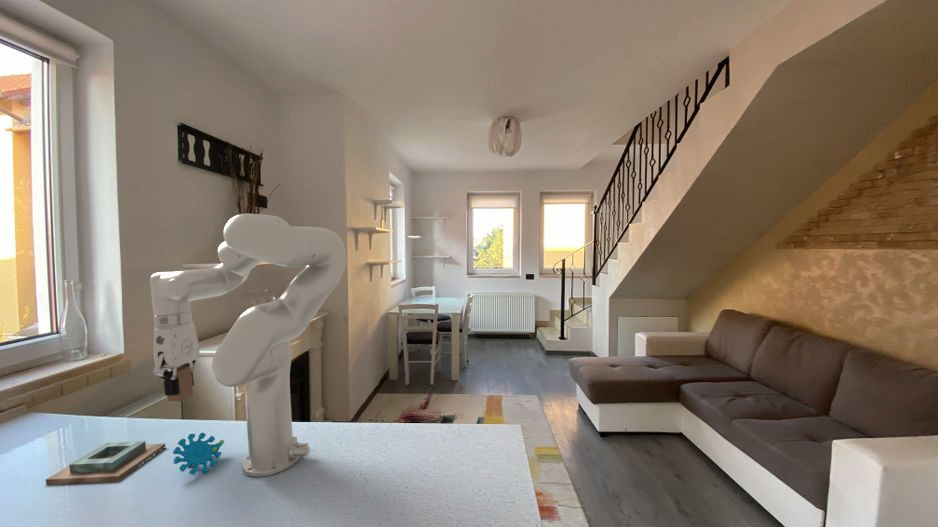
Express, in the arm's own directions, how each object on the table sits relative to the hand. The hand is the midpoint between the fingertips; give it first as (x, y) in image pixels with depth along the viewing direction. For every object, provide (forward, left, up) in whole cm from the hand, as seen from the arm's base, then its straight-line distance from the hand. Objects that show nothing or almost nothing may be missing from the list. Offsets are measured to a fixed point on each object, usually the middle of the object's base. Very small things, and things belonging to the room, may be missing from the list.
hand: (179, 390), depth 98 cm
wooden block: (0, 0, -2) cm, 2 cm away
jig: (+14, +5, -16) cm, 22 cm away
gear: (-9, +8, -16) cm, 20 cm away
